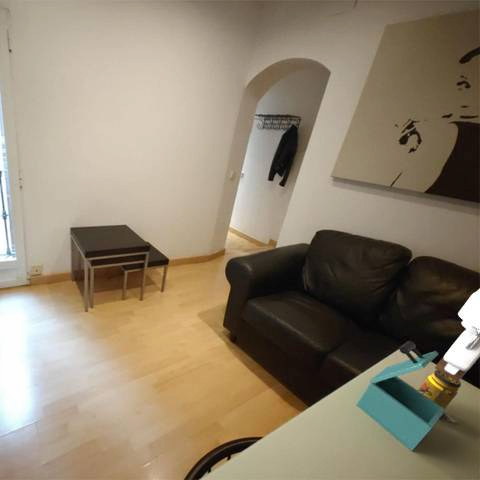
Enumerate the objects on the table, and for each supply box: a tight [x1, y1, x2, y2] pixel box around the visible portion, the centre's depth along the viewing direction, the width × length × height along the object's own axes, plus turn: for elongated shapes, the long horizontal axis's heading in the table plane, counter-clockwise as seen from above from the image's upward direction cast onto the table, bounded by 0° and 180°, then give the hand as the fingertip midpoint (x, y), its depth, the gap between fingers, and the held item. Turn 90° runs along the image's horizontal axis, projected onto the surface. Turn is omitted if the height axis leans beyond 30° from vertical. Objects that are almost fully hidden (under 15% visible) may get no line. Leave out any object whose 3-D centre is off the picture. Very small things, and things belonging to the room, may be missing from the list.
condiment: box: [416, 369, 462, 424], centre depth 74 cm, size 7×8×12 cm
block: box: [434, 354, 470, 382], centre depth 60 cm, size 4×4×4 cm
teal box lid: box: [370, 340, 439, 383], centre depth 69 cm, size 13×11×5 cm
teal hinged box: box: [356, 376, 446, 452], centre depth 70 cm, size 13×11×9 cm
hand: (453, 367), depth 60 cm, fingers closed on block, 4 cm apart
